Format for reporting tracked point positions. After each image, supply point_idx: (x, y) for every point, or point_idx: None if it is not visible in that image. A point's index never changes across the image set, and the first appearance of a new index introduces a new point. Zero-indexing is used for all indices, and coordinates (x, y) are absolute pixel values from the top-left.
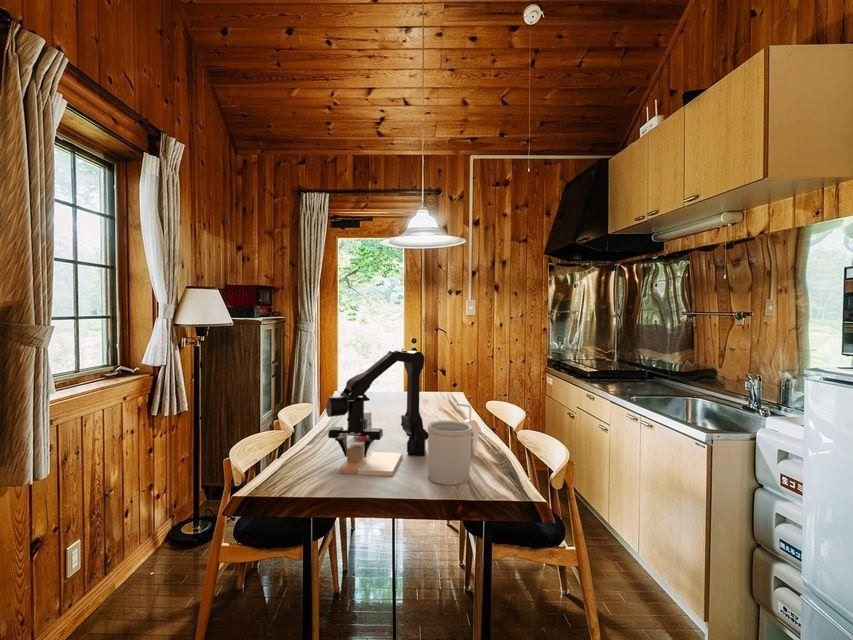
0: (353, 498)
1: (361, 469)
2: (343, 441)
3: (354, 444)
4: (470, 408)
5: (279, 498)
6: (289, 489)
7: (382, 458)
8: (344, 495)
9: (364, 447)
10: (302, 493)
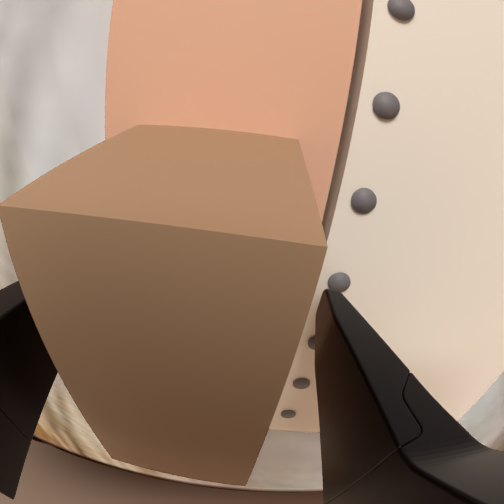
0: (276, 492)
1: (292, 427)
2: (12, 468)
3: (100, 361)
4: None
5: (92, 461)
6: (74, 440)
7: (501, 229)
8: (247, 486)
9: (324, 472)
10: (124, 462)
